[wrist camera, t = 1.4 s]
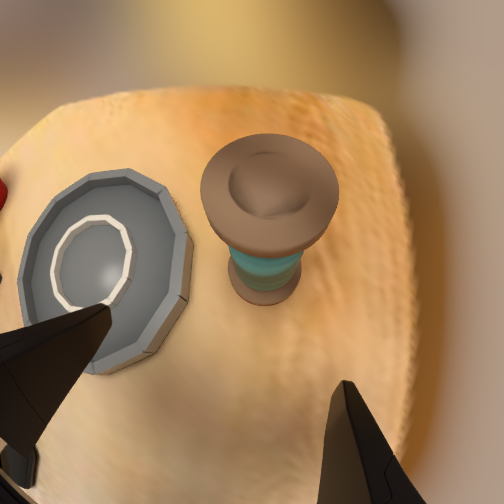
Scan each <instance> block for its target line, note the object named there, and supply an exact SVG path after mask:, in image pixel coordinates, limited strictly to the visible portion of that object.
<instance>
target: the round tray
mask: <svg viewBox="0 0 504 504" xmlns="http://www.w3.org/2000/svg"><path fill="white" fill-rule="evenodd" d="M28 235H29V236H27V240H26V244H25V247H24V251H23V255H22V260H21V264H20V268H19V273H18V278H17V280H18V281H17V285H18V293H19V300H20V306H21V312H22V317H23V322H24V326H25V327H26V326H30V325H33V324H36V323H39V322H42V321H45V320H48V319H52V318H55V317H58V316H61V315H64V314H67V313H70V312H73V311H77V310H80V309H83V308H86V307H89V306H92V305H95V304H98V303H103V304H106V305H108V306H109V307H110V309H111V315H112V327H111V329H110V330H109V332H108V334H107V335H106V337H105V339H104V340H103V342H102V344H101V346H100V347H99V349H98V351H97V352H96V354H95V356H94V357H93V358H92V360H91V361H90V363H89V364H88V365H87V367H86V368H85V370H84V371H83V372H85V373H88V374H92V375H102V374H111V373H113V372H115V371H117V370H120V369H122V368H124V367H126V366H129V365H131V364H133V363H135V362H137V361H139V360H142V359H144V358H146V357H148V356H150V355H152V354H154V352H156V351H157V350H158V348H159V347H160V345H161V344H162V342H163V341H164V339H165V337H166V336H167V334H168V333H169V331H170V330H171V328H172V327H173V325H174V324H175V322H176V320H177V319H178V317H179V316H180V314H181V313H182V311H183V310H184V308H185V307H186V305H187V304H188V303H187V302H186V301H189V288H190V277H191V266H192V256H193V247H194V244H193V241H192V239H191V237H190V235H189V233H188V231H187V229H186V227H185V225H184V223H183V220H182V218H181V216H180V214H179V212H178V210H177V208H176V205H175V203H174V201H173V199H172V197H171V195H170V193H169V191H168V189H167V188H166V187H165V186H163V185H162V184H160V183H158V182H156V181H154V180H152V179H150V178H148V177H146V176H144V175H142V174H140V173H138V172H136V171H134V170H132V169H131V168H130V169H129V168H127V169H118V170H110V171H102V172H95V173H90V174H88V175H86V176H85V177H83V178H81V179H80V180H78V181H77V182H75V183H74V184H72V185H71V186H69V187H68V188H66V189H65V190H63V191H62V192H61V193H59V194H58V195H56V196H55V197H54V198H53V199H52V200H51V202H50V203H49V204H48V206H47V207H46V209H45V210H44V211H43V213H42V214H41V216H40V217H39V219H38V220H37V222H36V223H35V225H34V226H33V228H32V229H31V231H30V233H29V234H28Z"/></svg>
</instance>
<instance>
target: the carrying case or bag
mask: <svg viewBox="0 0 504 504" xmlns="http://www.w3.org/2000/svg"><path fill="white" fill-rule="evenodd" d="M5 450H6V454H7V461H8V467H9V473H10V474H9V477H10V479H11V480H12V481H13V482H14V483H16V484H17V485H18V486H20V487H22V488H24V489H30V488H31V487H32V481H33V473H34V466H35V460H36V457H35V456H36V453H35V448H33V450H32V451H31V453H30V455H29V456H28V458H27V459H26V460H25V459H24V458H23V457H22V456H21V455H19V454H18V453H17V452H16V451H15V450H14V449H12V448H11V447H10V446H9V445H7V446H6V447H5Z"/></svg>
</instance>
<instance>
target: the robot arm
mask: <svg viewBox="0 0 504 504" xmlns="http://www.w3.org/2000/svg"><path fill="white" fill-rule="evenodd" d="M111 327H112V315H111V309H110V307H109V306H108V305H106V304H103V303H98V304H95V305H92V306H89V307H86V308H83V309H80V310H77V311H73V312H70V313H67V314H64V315H61V316H58V317H55V318H52V319H48V320H45V321H42V322H39V323H36V324H33V325H30V326H26V327H23V328H20V329H17V330H13V331H10V332H6V333H1V334H0V504H37V503H36V502H35V501H34V500H33V499H32V498H30V497H29V496H28V495H27V494H26V493H25V492H24V491H23V490H22V489H21V488H20V487H19V486H18V485H16V484H15V483H14V482H13V481H12V480H11V479H10V478H9V477H8V476H9V474H10V473H9V467H8V461H7V454H6V450H5V447H6V446H7V445H9V446H10V447H11V448H12V449H14V450H15V451H16V452H17V453H18V454H19V455H21V456H22V457H23V458H24V459H25V460H26V459H27V458H28V456H29V455H30V453H31V451H32V450H33V448H34V446H35V445H36V443H37V441H38V440H39V438H40V436H41V435H42V433H43V431H44V430H45V428H46V427H47V426H46V425H48V423H49V422H50V420H51V418H52V417H53V415H54V414H55V412H56V411H57V409H58V408H59V406H60V405H61V403H62V402H63V400H64V399H65V397H66V396H67V394H68V393H69V391H70V390H71V388H72V387H73V385H74V384H75V382H76V381H77V380H78V378H79V377H80V375H81V374H82V372H83V371H84V370H85V368H86V367H87V365H88V364H89V363H90V361H91V360H92V358H93V357H94V356H95V354H96V352H97V351H98V349H99V347H100V346H101V344H102V342H103V340H104V339H105V337H106V335H107V334H108V332H109V330H110V329H111ZM317 504H426V502H425V501H424V500H423V498H422V497H421V495H420V494H419V493H418V491H417V490H416V488H415V487H414V486H413V484H412V483H411V481H410V480H409V478H408V477H407V475H406V474H405V472H404V471H403V469H402V467H401V466H400V464H399V462H398V460H397V458H396V457H395V455H393V451H392V450H391V448H390V446H389V444H388V442H387V441H386V439H385V437H384V435H383V433H382V432H381V430H380V428H379V426H378V424H377V423H376V421H375V419H374V417H373V416H372V414H371V412H370V410H369V409H368V407H367V405H366V403H365V402H364V400H363V398H362V396H361V395H360V393H359V391H358V389H357V388H356V386H355V384H354V383H353V382H352V381H347V380H342V381H341V382H340V383H339V385H338V386H337V388H336V389H335V391H334V392H333V394H332V397H331V402H330V408H329V414H328V419H327V424H326V430H325V436H324V448H323V459H322V468H321V477H320V486H319V493H318V501H317Z"/></svg>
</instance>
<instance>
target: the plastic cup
mask: <svg viewBox="0 0 504 504" xmlns="http://www.w3.org/2000/svg"><path fill="white" fill-rule="evenodd" d="M7 192H8V191H7V188H6V186H5V184H4V183H3V181H2V180H1V179H0V210H1V209H2V207H3V205H4V203H5V200H6V198H7Z"/></svg>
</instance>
